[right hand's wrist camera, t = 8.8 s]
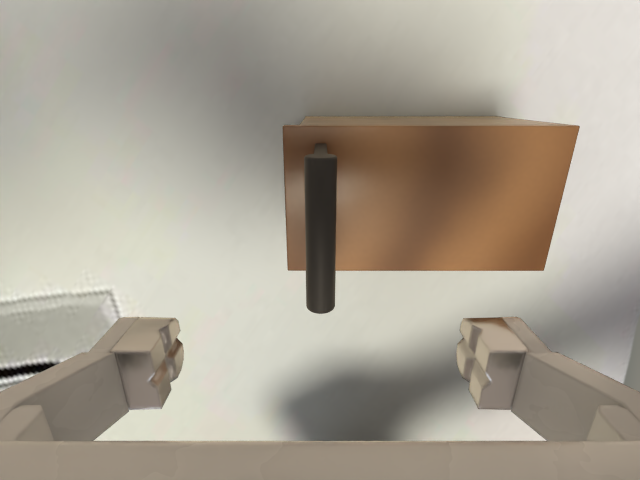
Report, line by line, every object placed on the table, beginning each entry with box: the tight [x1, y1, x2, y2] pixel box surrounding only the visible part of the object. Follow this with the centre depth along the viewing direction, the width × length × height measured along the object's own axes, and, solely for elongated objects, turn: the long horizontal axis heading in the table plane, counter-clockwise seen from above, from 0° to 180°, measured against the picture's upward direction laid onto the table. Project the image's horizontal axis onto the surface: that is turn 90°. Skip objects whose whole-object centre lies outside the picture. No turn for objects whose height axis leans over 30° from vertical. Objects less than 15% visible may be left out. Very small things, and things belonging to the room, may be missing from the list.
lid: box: [283, 125, 580, 314], centre depth 21 cm, size 18×10×8 cm, turn 90°
